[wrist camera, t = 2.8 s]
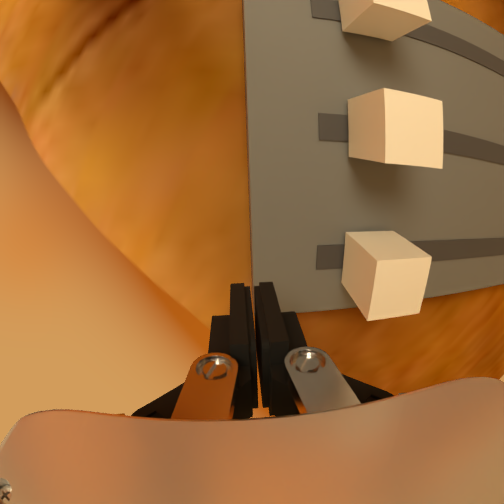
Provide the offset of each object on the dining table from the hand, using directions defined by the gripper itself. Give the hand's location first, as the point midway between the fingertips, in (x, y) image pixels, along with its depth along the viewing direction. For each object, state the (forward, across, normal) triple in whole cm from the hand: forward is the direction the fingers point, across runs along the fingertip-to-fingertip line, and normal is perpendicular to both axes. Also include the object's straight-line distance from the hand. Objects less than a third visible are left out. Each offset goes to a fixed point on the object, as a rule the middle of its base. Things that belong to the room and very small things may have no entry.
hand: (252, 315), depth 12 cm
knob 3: (+4, -7, -1) cm, 8 cm away
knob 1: (+4, -7, -15) cm, 17 cm away
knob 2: (+4, -7, -8) cm, 11 cm away
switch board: (+7, -13, -8) cm, 17 cm away
